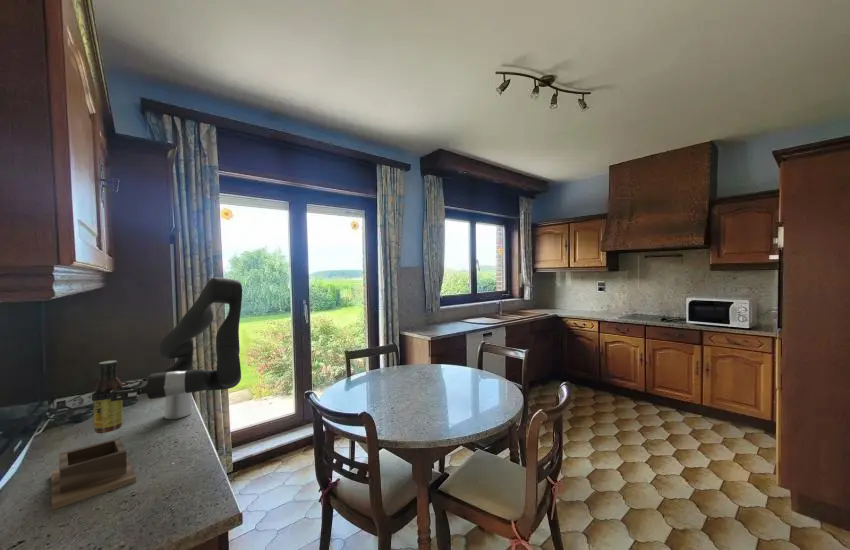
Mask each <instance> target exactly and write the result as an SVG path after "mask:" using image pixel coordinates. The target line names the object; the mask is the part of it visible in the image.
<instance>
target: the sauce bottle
mask: <svg viewBox="0 0 850 550" xmlns="http://www.w3.org/2000/svg"><path fill="white" fill-rule="evenodd" d="M117 367H118V360H116V359H115V360H105V361H101V362H99V363H98V369H99V377H98V379H97V382H96V384H95V388H94V389H93V393H95V392H102V391H111V390H115V389H119V388H120V387H121V386H122V383H123V382H122V381H121V379H120V378H119V377H118V373H117V372H118V371H117V370H118V369H117ZM119 395H120V393H118V394H116V396H119ZM123 401H124V400H118V401H111V400H110V399H105V400H98V401H93V427H94V432H95V433H97V434H105V433H106V434H107V433H109V432H113V431H117V430H119V429H121V428H122V427H123V421H124V420H123V419H124V418H123V417H124V416H123V408H124V407H123V404H124V402H123Z"/></svg>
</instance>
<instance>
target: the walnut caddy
mask: <svg viewBox="0 0 850 550" xmlns="http://www.w3.org/2000/svg"><path fill="white" fill-rule="evenodd" d="M58 460H59V461H58V462H59V463H58V464H59V466H58V467H59V468H58V469H55V470H51V511H54V510H56V509H60V508H62V507H66V506H69V505H72V504H74V503H78V502H81V501H84V500H87V499H89V497H90V498H92V496H93V497H96V496H98V495H101V494H105V493H107V492H110V491H114V490H115V489H118V488H121V487H125V486H128V485H131V484H133V482H134V483H136V482H137V475H136V474H135V471H134V469H133V466H132V464H131V462H130V460H129V457H128V455H127V450H126V448H125V445H124V443H123V441H122V438H121V437H118V438H114V439H110V440H106V441H102V442H99V443H95V444H94V443H93V444H90V445H87V446H84V447H79V448H75V449H71V450H67V451H63V452H60V453H59V458H58ZM86 498H87V499H86ZM83 499H84V500H83Z"/></svg>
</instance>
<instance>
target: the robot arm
mask: <svg viewBox="0 0 850 550" xmlns="http://www.w3.org/2000/svg"><path fill="white" fill-rule="evenodd" d="M197 297H198V298H197V299H196V300H195V302H194V303H193V304H192V306H190V308H189V309H188V310H187V311H186V313H185V314H183V317H182V318H181V319H180V320H179V322H178V323H177V324H176V325H175V326H174V328H172V330H171V331H170V332H168V333H167V334H166V335H165V336H164V337H163V338H162V339H161V341H160V343H159V346H158V353H159V354H158V355H159V356H160V357H161V358H163V359H164V360H172V359H177V360H176V361H175V362H174V363H173V364H171V365H169V366H167V367H165V368H164V371H163V372H157V373H156V372H155V373H154V372H153V373H151V374H149V376H148V378H145V377H144V378H138V379H131V380H124V381H123V382H122V386H121V387H120V388H119V389H115V390H111V391H102V392H95V393H94V392H92V394H91V400H92V401H93V402H94V401H98V400H105V399H110V400H111V401H118V400H123V401H125V400H135V399H137V398H138V397H140V396H141V395H144V394H146V395H147V397H148V399H149V400H155V399H161V398H162V399H163V398H164V419H166V420H177V419H181V418H185V417H187V416H189V415H192V411H193V410H192V405H193V404H192V403H193V401H192V397H193V395H192V394H193V393H197V392H201V391H220V390H221V391H222V390H228V389H232V388H235V387H236V386H237V385H239V383H240V382H241V380H242V369H241V359H240V352H241V351H240V322H241V321H240V320H241V311H242V303H243V285H242V283H241V282H240V280H238V279H233V278H232V279H231V278H226V277H219V276H218V277H217V276H215V277H212V278H210V279H209V280H208V281H207V283H206V284H205V286H204V287H203V289H202V291H201V292H200V294H199V296H197ZM215 303H216V304H227V305H228V307H229V308H228V313H227V316H226V317H225V319H224V320H223V322H222V323H221V325H220V326H219V328H218V330H217V331H216V336H215V352H216V369H211V370H208V369H206V368H197V369H196V368H195V369H193V368H192V367H193V361H194V359H193V358H194V341H193V339H194V338H196V337H198V336H199V335H201V334H203V333H204V332H205V331H206V330H207V329H208V327H209V326H211V324H212V322H213V319H214V313H213V310H212V307H211V305H212V304H215ZM118 393H120V395H119V396H116V394H118Z"/></svg>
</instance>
